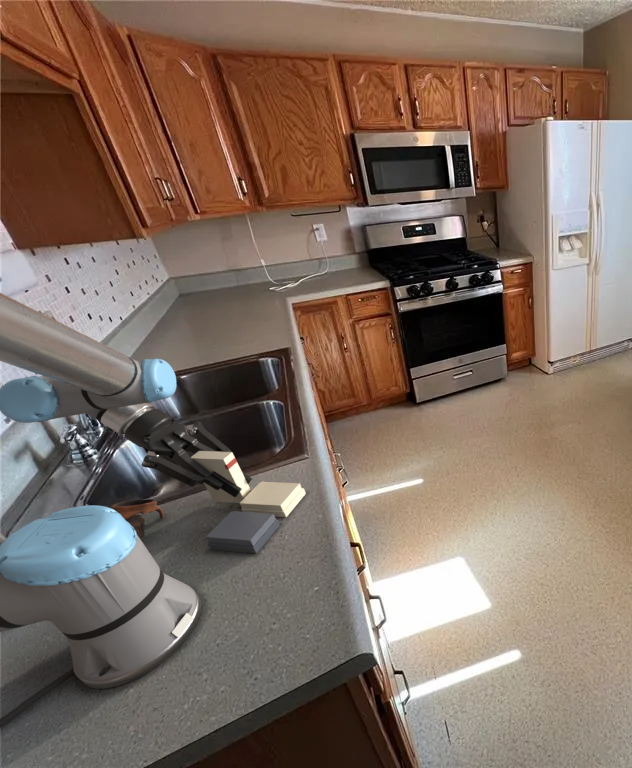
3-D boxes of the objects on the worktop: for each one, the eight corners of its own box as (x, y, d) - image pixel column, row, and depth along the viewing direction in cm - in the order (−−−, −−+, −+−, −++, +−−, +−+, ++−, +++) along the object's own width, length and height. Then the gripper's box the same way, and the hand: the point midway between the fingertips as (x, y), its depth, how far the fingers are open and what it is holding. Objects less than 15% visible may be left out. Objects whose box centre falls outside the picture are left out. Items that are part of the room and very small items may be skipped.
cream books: (286, 517, 85) (281, 506, 84) (244, 514, 87) (238, 503, 86) (305, 493, 92) (301, 482, 90) (266, 491, 93) (260, 480, 92)
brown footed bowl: (96, 545, 83) (98, 503, 84) (157, 533, 91) (158, 495, 91) (107, 558, 76) (109, 513, 76) (172, 544, 83) (173, 503, 84)
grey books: (256, 553, 78) (250, 541, 76) (210, 549, 79) (203, 538, 78) (280, 524, 84) (274, 513, 82) (237, 521, 85) (230, 510, 84)
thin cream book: (246, 503, 89) (223, 459, 83) (213, 501, 90) (189, 458, 85) (253, 495, 91) (232, 452, 85) (222, 493, 92) (198, 450, 87)
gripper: (168, 411, 92) (261, 473, 97) (97, 455, 78) (210, 524, 83) (177, 391, 88) (273, 455, 93) (105, 433, 75) (222, 506, 80)
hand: (243, 487), depth 88 cm, fingers closed on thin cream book, 2 cm apart
